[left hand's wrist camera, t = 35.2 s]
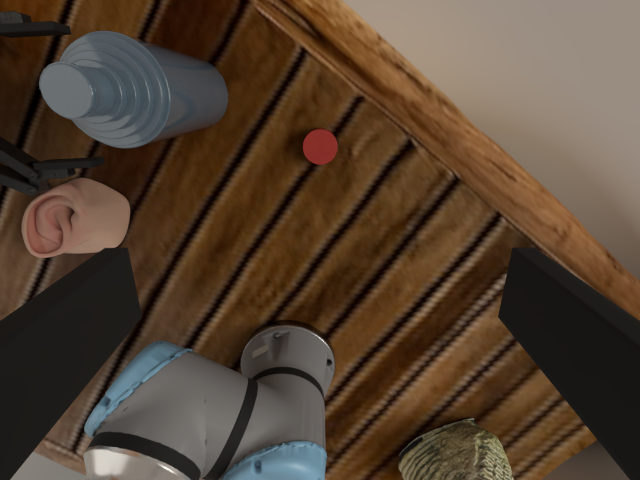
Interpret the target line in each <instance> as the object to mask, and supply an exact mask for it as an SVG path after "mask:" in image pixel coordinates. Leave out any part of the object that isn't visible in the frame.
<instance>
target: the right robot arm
mask: <svg viewBox="0 0 640 480" xmlns="http://www.w3.org/2000/svg"><path fill="white" fill-rule="evenodd" d="M70 34H71V31H70V27H69V26H66V25H63V24H60V23H56V22H53V21H47V22H32V21H31V17H30V16H28V15H25V14H22V13H19V12H15V11H10V12H0V36H5V37H10V38H13V37H32V36H51V35H70ZM0 161H1V162H2V163H4V164H6V165H7V166H9V167H7V166H5V165H2V164H0V184H1V185H4V186H7V187H9V188H12V189H15V190H17V191H20V192H22V193H25V194H28V195H30V196H34V195H37V194H40V193H43V192H46V191H49V190H50V184H49V183H48V179H56V178H66V177H70V176H72V175H74V174H76V173H75V170H74V168H91V167H95V166H98V165H101V164H105V162H104V159H103V157H95V158H75V159H54V160H46V161H41V162H39V161H38V160H36V159H34V158H33V157H31V156H30V155H28V154H27V153H25V152H23V151H22V150H20V149H19V148H17V147H16V146H14V145H12V144H11V143H9V142H8V141H6V140H5V139H3V138H1V137H0Z"/></svg>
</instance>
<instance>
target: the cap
mask: <svg viewBox="0 0 640 480" xmlns="http://www.w3.org/2000/svg"><path fill="white" fill-rule="evenodd" d="M337 148H338V147H337V142H336V138H335V137H334V135H333V133H331V132H330V131H329V130H326V129H325V128H324V129H323V128H318V129H314V130H312V131H310V132H309V133H308V134H307V136H306V137H305V138H304V142H303V152H304V154H305V156H306V158H307V159H308V160H309V161H310V162H312V163H314V164H319V165H322V164H326V163H328V162H330V161H331V160H332V159H333V158H334V157H335V155H336V153H337Z"/></svg>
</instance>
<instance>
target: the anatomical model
mask: <svg viewBox="0 0 640 480" xmlns="http://www.w3.org/2000/svg"><path fill="white" fill-rule="evenodd" d="M129 219H130V206H129V203H128V201H127V199H126V198H125V197H124V196H123V195H121V194H120V193H118V192H117V191H115V190H113V189H111V188H109V187H108V186H106V185H104V184H102V183H99V182H96V181H94V180H91V179H88V178H77V179H74V180H71V181H69V182H67V183H65V184H60V185H58V186H56V187H54V188H52V189H51V190H49V191H47V192H45V193H43V194H41V195H39V196H38V197H36V198H35V199H34V200H32V201H31V202H30V204H29V205H28V206H27V208H26V210H25V212H24V215H23V219H22V235H23V239H24V242H25V245H26V247H27V249H28V251H29V252H30V253H31V254H32V255H34V256H36V257H40V258H46V257H52V256H56V255H59V254H62V253H93V252H100V251H101V250H103V249H104V248H115V247H117V246H118V245H119V244H120V243H121V242H122V241H123V239H124V237H125V235H126V232H127V229H128V225H129Z"/></svg>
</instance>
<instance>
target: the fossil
mask: <svg viewBox="0 0 640 480" xmlns="http://www.w3.org/2000/svg"><path fill="white" fill-rule="evenodd" d="M399 456H400V460H399V463H398V468H399V470H400V472H401V473H402V476H403V479H404V480H514V479H513V477H512V475H511V467H510V465H509V462H508V458H507V456H506V454H505V452H504V450H503V447H502V445H501V443H500V441H499V440H498V438H497V437H496V436H495V435H494V434H492V433H490V432H488V431H486V430H484V429H482V428H479V427H478V425H477V424H476V423H475V421H474V418H472V419H464V420H462V421H458V422H455V423H451V424H449V425H445V426H443V427H441V428H437V429H434V430H432V431H430V432H427V433H425V434H423V435H421V436H419V437H417V438H416V439H414V440H413V441H412V442H411V443H410V444H408V446H407V447H406V448H404V449H403V450H402V452H401V453H400V454H399Z"/></svg>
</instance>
